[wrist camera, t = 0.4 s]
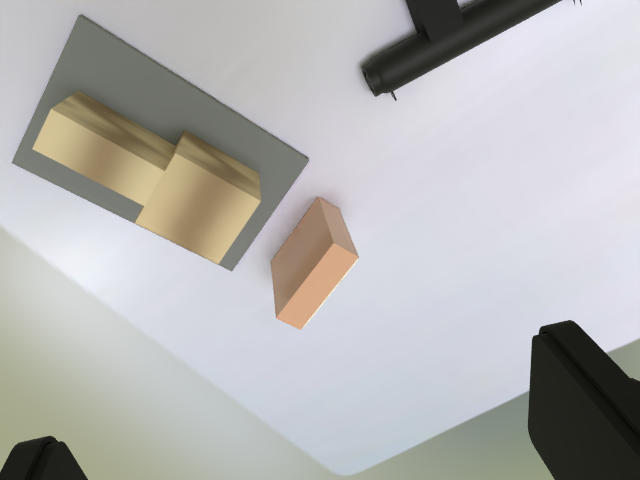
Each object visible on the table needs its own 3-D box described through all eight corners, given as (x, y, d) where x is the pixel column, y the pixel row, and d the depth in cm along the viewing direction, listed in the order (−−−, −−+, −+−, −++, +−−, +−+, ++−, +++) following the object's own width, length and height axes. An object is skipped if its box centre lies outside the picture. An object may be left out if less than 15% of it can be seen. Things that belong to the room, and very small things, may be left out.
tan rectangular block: (270, 261, 47) (276, 318, 39) (318, 196, 44) (333, 242, 37) (293, 272, 48) (302, 330, 40) (340, 209, 45) (360, 258, 38)
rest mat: (14, 160, 39) (11, 162, 39) (81, 14, 35) (79, 15, 35) (232, 268, 47) (231, 271, 46) (308, 158, 43) (309, 160, 42)
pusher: (53, 142, 39) (23, 168, 33) (87, 72, 37) (60, 87, 31) (221, 230, 44) (218, 264, 39) (259, 173, 42) (261, 201, 37)
